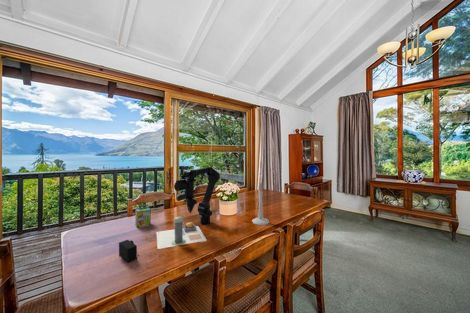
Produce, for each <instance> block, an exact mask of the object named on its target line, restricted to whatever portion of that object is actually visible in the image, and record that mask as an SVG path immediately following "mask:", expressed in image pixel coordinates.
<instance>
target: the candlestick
mask: <svg viewBox="0 0 470 313" xmlns="http://www.w3.org/2000/svg"><path fill="white" fill-rule="evenodd" d="M263 193H264V191H263V182H259V191H258V194H259V199H258V215H257V216H258V217H255V218H253V219H252V220H251V223H252V222H253V223H252V224H254V225H256V224H257V226H267V225H269V224H270V221H269V219H268V218H264V208H263V206H264V205H263ZM268 223H269V224H268ZM266 224H267V225H266Z"/></svg>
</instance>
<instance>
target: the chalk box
mask: <svg viewBox="0 0 470 313" xmlns="http://www.w3.org/2000/svg"><path fill="white" fill-rule="evenodd" d="M138 206H139V208H135V211H134V212H135V216H134V217H135V218H134V219H135V222H134V223H135V227H136V228H138V229H139V228H143V227H147V226H151V224H152V223H151V222H152V220H151V219H152V216H151V215H152V212H151V211H152V210H151V209H150V207H149V206H147V203H143V204H139V205H138Z"/></svg>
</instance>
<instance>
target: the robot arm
mask: <svg viewBox="0 0 470 313" xmlns="http://www.w3.org/2000/svg"><path fill="white" fill-rule="evenodd" d="M204 174H206V176H208V178H207V180H208V184H207V188H206V190H205V194H204V196H203V200H202V201H201V202H199V203H198V201H197V199H196V198H195V182H196V181H197V179H196V178H197V177H198V176H200V175H204ZM220 178H221V174H220V173H219V172H218V171H217V170H216V169H215V168H213V167H211V166H204V167H201V168H196V169H185V170H184V171H183V174H182V175H181V177H180V178H179V179H176V180H175V182H174V185H173V188H174V191H176V192H179V191H183V192H181V193H179V194H177V195H176V196H175V197H176V200H177V201H178V202H181V201H182V200H183V201H184V202H185V205H186V208H187V211H188V213H189V214H192V212H193V209H194V207H195V205H197V204H198V206H197V212H198V215H199V216H200V217H199V223H200V224H201V225H211V224H212V223H211V216H213V211H212V210H211V204H210V202H211V199H212V196H213V191H214V190H215V187H216V184H217V183H218V182H219V180H220Z"/></svg>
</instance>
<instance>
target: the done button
mask: <svg viewBox="0 0 470 313" xmlns="http://www.w3.org/2000/svg"><path fill="white" fill-rule="evenodd" d="M193 224H194V223H193V222H192V221H191V222H186V223H185V225H186V228H193Z"/></svg>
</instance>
